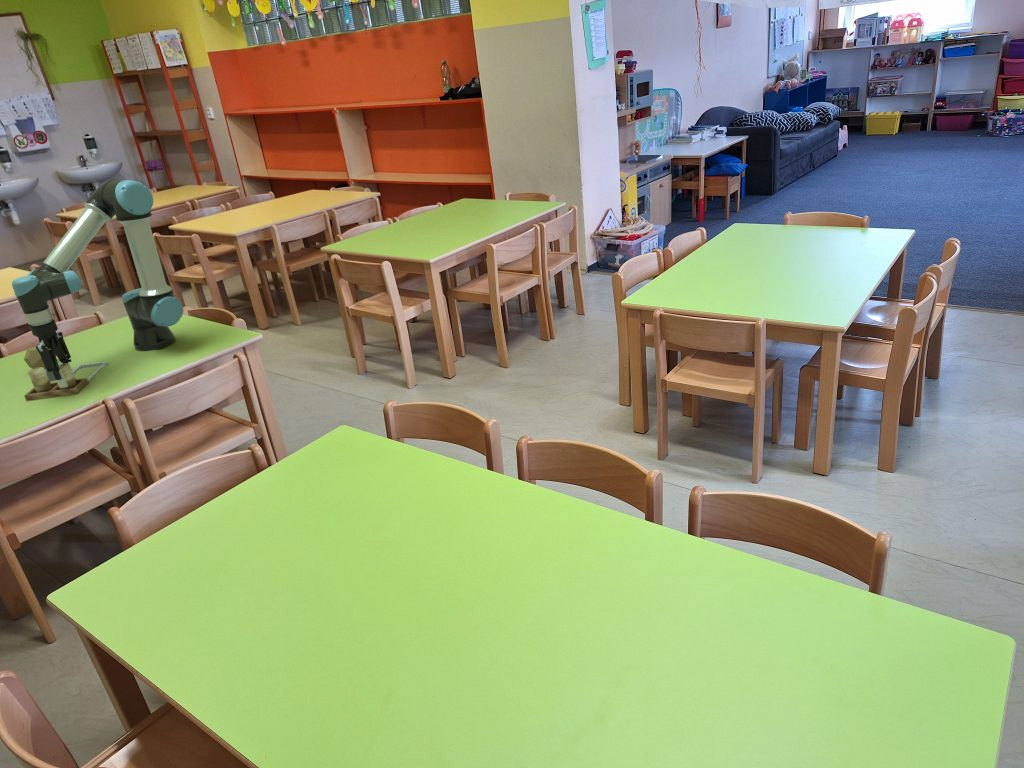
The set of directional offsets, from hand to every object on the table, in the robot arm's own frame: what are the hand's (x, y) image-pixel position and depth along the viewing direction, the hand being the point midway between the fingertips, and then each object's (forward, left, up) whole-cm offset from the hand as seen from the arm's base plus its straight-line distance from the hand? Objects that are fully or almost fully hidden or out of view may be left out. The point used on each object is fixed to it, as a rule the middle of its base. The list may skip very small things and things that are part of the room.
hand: (67, 383), depth 251 cm
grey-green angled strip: (+1, -14, -4) cm, 14 cm away
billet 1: (+8, 0, -3) cm, 9 cm away
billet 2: (0, 0, -3) cm, 3 cm away
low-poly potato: (+22, -29, -4) cm, 37 cm away
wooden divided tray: (+4, 0, -4) cm, 6 cm away
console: (+11, -15, -4) cm, 19 cm away
